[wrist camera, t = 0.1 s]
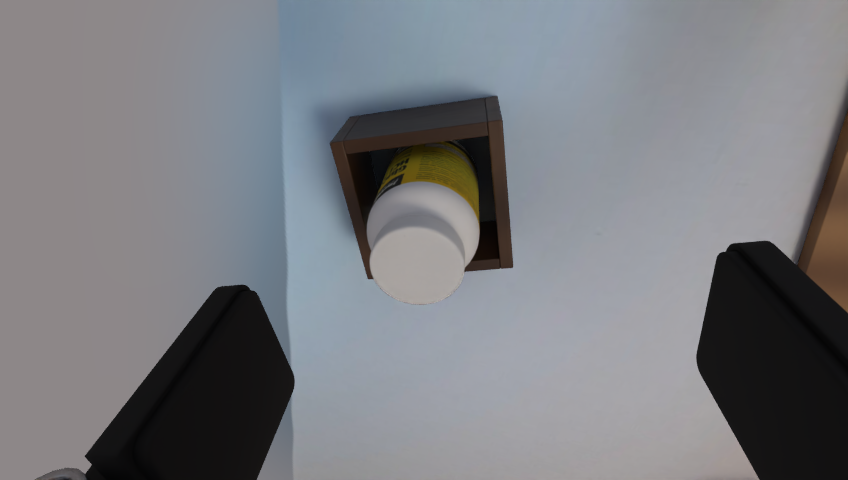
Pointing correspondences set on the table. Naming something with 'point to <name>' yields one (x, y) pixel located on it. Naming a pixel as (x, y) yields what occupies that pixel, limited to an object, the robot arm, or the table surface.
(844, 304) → the board
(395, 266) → the pill bottle
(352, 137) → the holder
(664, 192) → the table surface
